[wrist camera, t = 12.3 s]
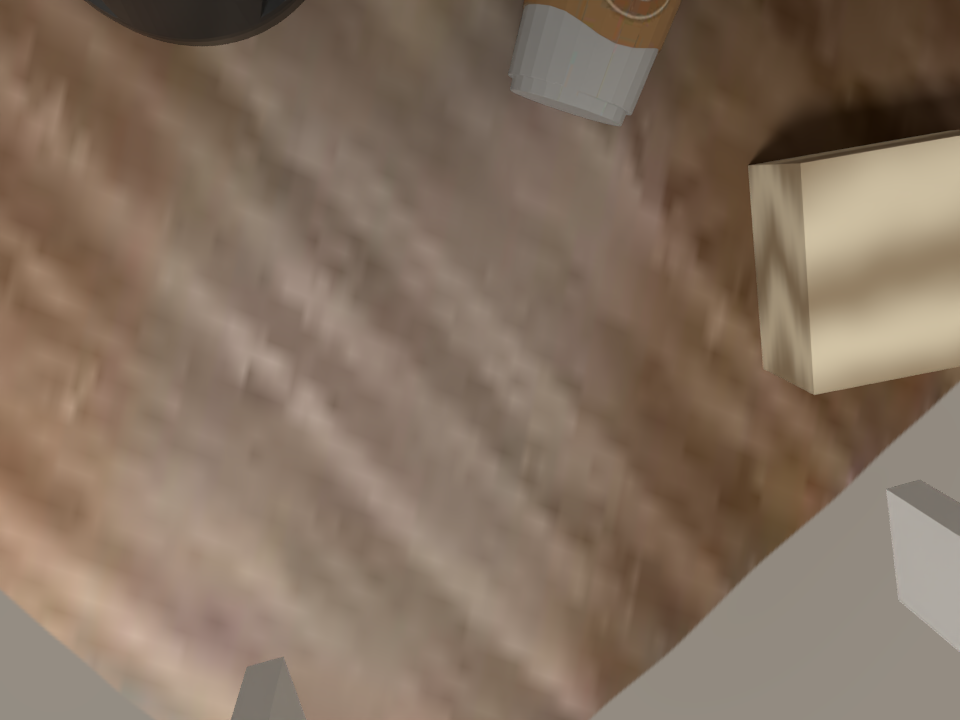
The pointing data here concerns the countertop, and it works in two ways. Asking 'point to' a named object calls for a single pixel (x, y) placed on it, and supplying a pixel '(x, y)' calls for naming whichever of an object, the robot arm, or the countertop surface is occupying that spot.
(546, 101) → the coffee cup
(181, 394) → the countertop surface
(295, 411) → the countertop surface
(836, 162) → the maple block
